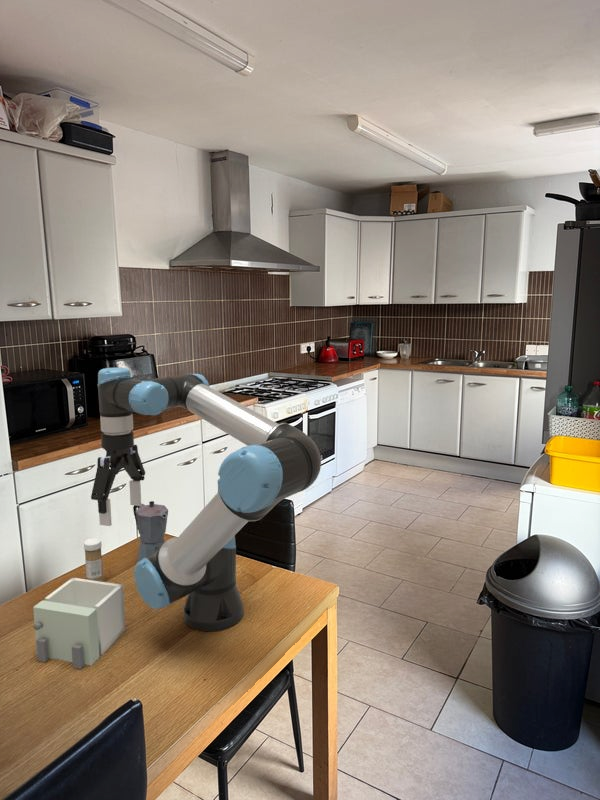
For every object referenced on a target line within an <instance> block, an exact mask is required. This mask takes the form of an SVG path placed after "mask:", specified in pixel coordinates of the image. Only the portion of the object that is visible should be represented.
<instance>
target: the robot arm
mask: <svg viewBox="0 0 600 800" xmlns="http://www.w3.org/2000/svg"><path fill="white" fill-rule="evenodd" d="M97 391H98V394H97V395H98V404H99V415H100V418H99V420H100V431H101V434H100V442H101V448H102V449H103V450H105V452H106V454H105V457H103V456H100V457H99V456H98V457H97V467H96V472H95V477H94V482H93V484H92V485H93V486H92V490H91V494H90V495H91V496H90V499H91V500H92V501H97V509H98V510H97V511H98V519H99V526H106V527H111V526H112V510H111V509H112V508H111V507H112V506H111V505H112V504H111V498H109V495H110V493H111V490H112V488H113V484H114V481H115V478H116V475H118V474H119V473H120V471H121V470H122V469H124V470H125V472H126V474H127V475H128V476H129V478H130V479H131V480H129V481H128V482H129V498H130V499H129V503H130V504H129V505H131V506H134V505H135V506H141V504H142V491H141V489H142V488H141V481H144V480H145V476H146V470H145V467H144V465H143V463H142V460H141V457H140V454H139V449H138V445H137V444H135V437H134V432H133V429H134V415H133V413H136V414H139V415H142V416H148V415H149V416H157V415H160V414H161V413H162V412H163V411H165V410H167V409H168V410H169V409H173V408H179V407H181V408H183V409H185V410H187V411H188V412H190V413H191V414H194V415H195V416H196V417H198V418H200V419H202V420H204V421H205V422H207V423H209V424H211V426H214V427H215V428H217V429H218V430H220V431H222V432H224V433H225V434H227V435H229V436H231V437H233V438H234V439H236V440H237V441H239V442H241V443H242V444H244V445H246V446H243V447H241V448H239V449H237V450H235V451H233V452H231V453H230V454H228V455H227V456H226V457H225V458H224V459H223V461H222V463H221V464H220V466H219V468H218V472H217V475H218V476H219V478H218V479H217V493H216V494H214V496H213V497H212V498H211V499H210V501H208V503H207V504H206V505H205V506H204V507H203V508H202V510H200V512H199V513H198V514H197V515H196V516H195V517H194V519H193V520H191V522H190V524H189V525H188V526H187V527H186V528H185V529H183V531H182V532H181V533H180V534H179V536H177V537H176V536H175V537H171V538H169V539H168V540H166V541H164V542H165V543H164V544H163V545H162V546H161V547H160V548H159V550H158V551H157V552H156V553H155V554H153V555H152V556H150V557H148V558H143V560H141V561H139V562H138V561H137V562H136V564H135V567H134V570H133V576H134V578H133V579H134V583H135V586H136V589H137V591H138V594H139V595H140V597H141V598H142V600H143V601H144V603H146V605H147V606H149V607H150V608H152V609H153V610H160V609H163V608H165V607H169V606H170V605H171V604H173V603H175V602H177V601H178V600H180V599H183V598H184V597H186V599H185V602H184V606H183V620H184V623H185V624H186V625H187V626H188V627H190V628H192V629H194V630H197V631H201V632H217V631H221V630H225V629H228V628H231V627H232V626H233V627H234V625H236V624H238V623H239V622H240V621H241V619H242V618H243V615H244V604H243V600H242V597H241V595H240V592H239V589H238V587H237V575H236V574H237V544H236V534H238V532H240V531H241V530H242V528H243V527H244V526H246V524H248V522H256V521H260V520H261V519H263V518H264V517H265V516H266V515H267V514H268V513H269V512H270V511H271V510H273V508H274V507H275V506H276V505H277V504H279V503H280V502H281V501H282V500H284V499H286V498H288V497H291V496H293V495H296V494H297V493H300V492H303V491H305V490H307V489H309V488H310V487H311V486H312V485H313V484H314V483H315V482H316V480H317V479H318V477H319V474H320V471H321V467H322V459H321V456H322V455H321V453H320V450H319V448H318V446H317V444H316V443H315V441H314V440H313V439H312V438H311V437H310V436H309V435H307V434H306V433H305V432H303V431H302V430H300V429H298V428H297V427H295V426H293V425H291V424H289V423H287V422H281V423H278V422H275V421H274V420H271V419H270V418H268V417H266V416H264V415H263V414H260V413H259V412H257V411H256V410H253V409H251V408H250V407H247V406H245V405H244V404H242V403H241V402H238V401H236V400H235V399H233V398H232V397H229V396H227V395H225V394H223V393H222V392H220V391H218V390H216V389H214V388H212V387H210V383H209V381H208V380H207V379H206V377H205V376H204V375H202V374H201V373H200V374H199V373H185V374H179V375H174V376H165V377H158V378H157V377H156V378H149V379H133V377H132V373H131V370H130V369H129V368H127V367H105V368H102V369H100V370H99V371H98V373H97Z"/></svg>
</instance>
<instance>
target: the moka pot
mask: <svg viewBox="0 0 600 800" xmlns="http://www.w3.org/2000/svg"><path fill="white" fill-rule="evenodd" d="M132 511H133V515H134V518H135V523H136V527H137V528H136V529H137V531H138V533H139V534H138V535H139V538H140V540H139V546H138V556H137V563H138V562H139V561H141V560H143V558H148V557H150V556H152V555H153V554H155V553H156V552H157V551H158V550H159V548H160V547H161V546H162V545H163V544H164V543H165V542H166V541H165V534H166V531H167V525H168V524H167V522H168V516H169V515H168V514H169V510H168V508H167V506H166V505H163V504H157V503H155V501H154V500H151V501H149V504H144V503H141V506H135V505H133V506H132Z"/></svg>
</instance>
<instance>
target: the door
mask: <svg viewBox="0 0 600 800" xmlns="http://www.w3.org/2000/svg"><path fill="white" fill-rule="evenodd" d="M32 610H33V622H34V623H33V624H34V625H33V629H34V636H35V641H36V640H38V639H39V638H42V639H47V645H48V658H49V659H53V660H57V659H59V661H63V660H64V662H68V663H73V661H72V646H73V645H74V644H75V645H81V646H82V647H83V662H84V664H86V665H85V666H89V665H91V666H90V667H92V666H93V665H94V664H95V663H96V662H97V661H98V660H99V659H100V655H99V643H98V626H97V610H96V609H94V608H88V607H81V606H75V605H69V604H63V603H56V602H50V601H45V599H44V600H41V601H40V602H38V603H36V604H35V605H34V606H33V607H32ZM35 647H36V650H37V644H36V643H35ZM96 660H97V661H96ZM95 661H96V662H95ZM93 663H94V664H93ZM92 664H93V665H92Z"/></svg>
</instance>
